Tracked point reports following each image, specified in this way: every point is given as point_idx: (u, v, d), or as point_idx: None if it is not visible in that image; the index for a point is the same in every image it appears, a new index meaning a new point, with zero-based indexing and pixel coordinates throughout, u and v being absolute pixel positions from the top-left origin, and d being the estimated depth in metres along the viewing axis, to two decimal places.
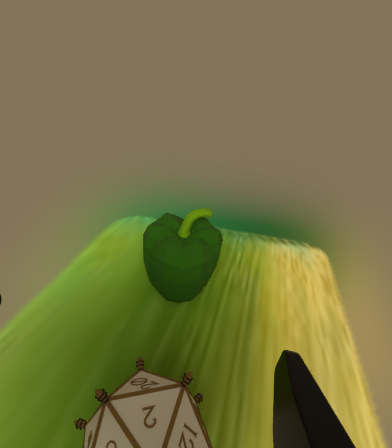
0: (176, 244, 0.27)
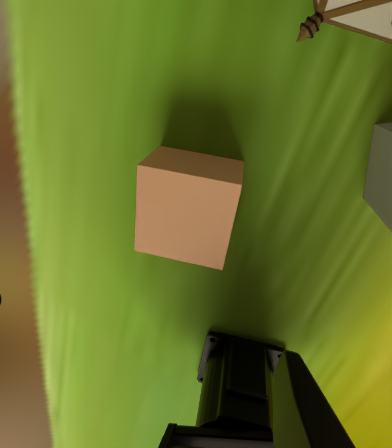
0: None
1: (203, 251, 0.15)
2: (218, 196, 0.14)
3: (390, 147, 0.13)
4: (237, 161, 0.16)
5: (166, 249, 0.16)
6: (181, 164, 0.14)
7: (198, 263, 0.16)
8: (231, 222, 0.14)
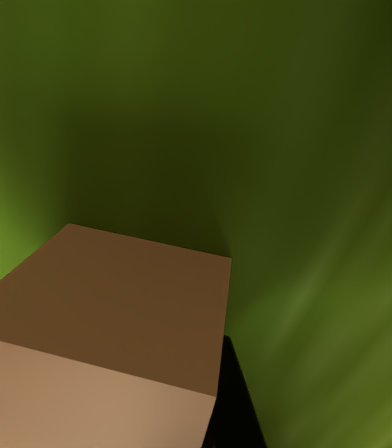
0: None
1: None
2: (157, 408, 0.05)
3: None
4: (216, 264, 0.08)
5: None
6: (76, 305, 0.06)
7: None
8: None
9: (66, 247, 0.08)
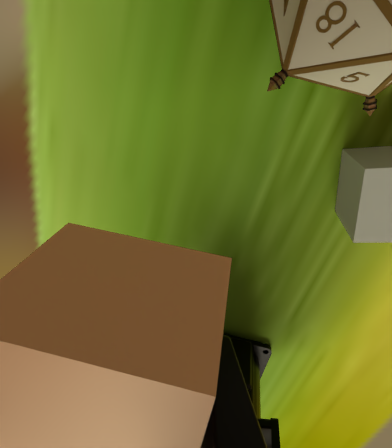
0: None
1: None
2: (156, 407, 0.05)
3: (352, 171, 0.15)
4: (216, 264, 0.08)
5: None
6: (75, 304, 0.06)
7: None
8: None
9: (65, 247, 0.08)
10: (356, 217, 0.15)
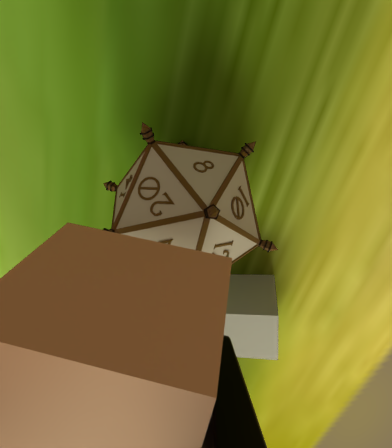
0: None
1: None
2: (156, 409, 0.05)
3: None
4: (216, 263, 0.08)
5: None
6: (74, 304, 0.06)
7: None
8: None
9: (65, 247, 0.08)
10: None
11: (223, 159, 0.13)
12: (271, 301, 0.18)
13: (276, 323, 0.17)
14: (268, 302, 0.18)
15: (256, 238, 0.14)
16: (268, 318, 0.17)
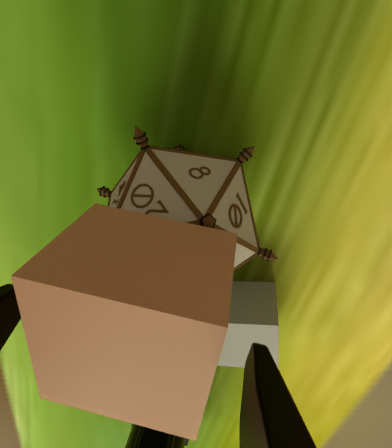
0: None
1: (159, 413, 0.08)
2: (179, 341, 0.07)
3: None
4: (224, 237, 0.09)
5: (93, 403, 0.09)
6: (111, 263, 0.07)
7: (152, 427, 0.09)
8: (208, 382, 0.07)
9: (96, 222, 0.09)
10: None
11: (220, 165, 0.13)
12: (271, 310, 0.18)
13: (276, 333, 0.17)
14: (268, 311, 0.18)
15: (255, 247, 0.13)
16: (268, 328, 0.17)
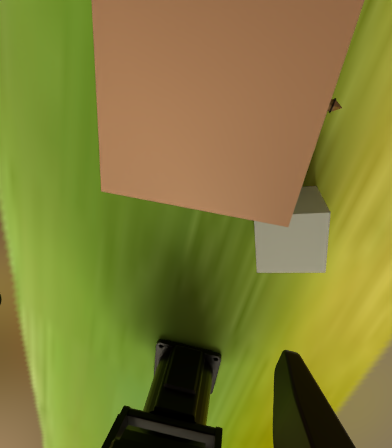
0: None
1: (249, 184, 0.07)
2: (299, 21, 0.05)
3: None
4: None
5: (166, 184, 0.07)
6: None
7: (236, 213, 0.07)
8: (326, 99, 0.06)
9: None
10: (256, 252, 0.17)
11: None
12: (319, 203, 0.16)
13: (327, 223, 0.16)
14: (315, 204, 0.16)
15: None
16: (318, 216, 0.15)
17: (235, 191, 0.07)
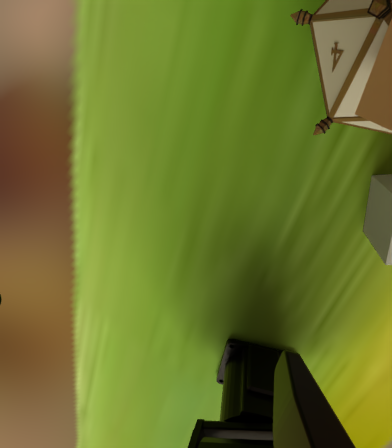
0: None
1: None
2: None
3: (384, 198, 0.16)
4: None
5: None
6: None
7: None
8: None
9: None
10: (388, 242, 0.16)
11: None
12: None
13: None
14: None
15: None
16: None
17: None
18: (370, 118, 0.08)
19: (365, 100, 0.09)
